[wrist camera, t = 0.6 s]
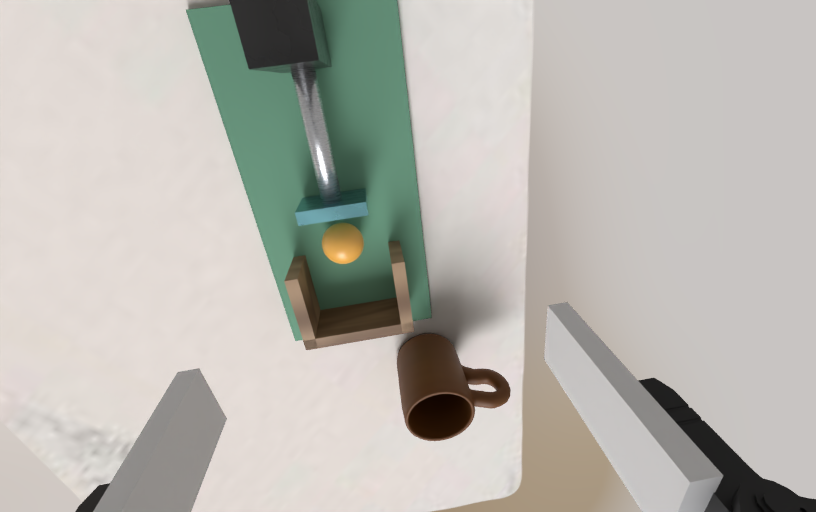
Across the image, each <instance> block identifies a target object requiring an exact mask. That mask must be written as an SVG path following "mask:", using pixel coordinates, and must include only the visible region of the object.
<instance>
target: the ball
mask: <svg viewBox="0 0 816 512" xmlns="http://www.w3.org/2000/svg"><path fill="white" fill-rule="evenodd" d="M363 247H364V240H363V236H362V234H361V232H360V231H359V230H358V229H357V228H356V227H355V226H353V225H352V224H349V223H337V224H334V225H332V226H330V227H329V228H328V229H327V230H326V231H325V233H324V235H323V238H322V248H323V251H324V253H325V255H326V256H327V257H328V258H329V259H330V260H331V261H333V262H335V263H338V264H347V263H351V262H353V261H355V260H356V259H357V258H358V257H359V256H360V255H361V253H362V251H363Z"/></svg>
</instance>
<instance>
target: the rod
mask: <svg viewBox="0 0 816 512" xmlns="http://www.w3.org/2000/svg"><path fill="white" fill-rule="evenodd" d="M229 1H230V5H231V8H232V12H233V15H234V19H235V23H236V26H237V30H238V33H239V37H240V40H241V44H242V47H243V51H244V54H245V58H246V61H247V65H248V68H249V69H250V70H259V71H267V72H276V73H289V72H291V74H292V78H293V83H294V87H295V91H296V95H297V100H298V104H299V108H300V112H301V116H302V121H303V125H304V129H305V133H306V138H307V142H308V146H309V150H310V154H311V159H312V163H313V167H314V171H315V176H316V180H317V184H318V188H319V192H320V195H316V196H309V197H303V198H302V199H301V201H300V203H299V205H298V207H297V209H296V211H295V215H296V219H297V223H298V226H302V225H308V224H315V223H321V222H328V221H334V220H341V219H347V218H354V217H361V216H367V215H368V199H367V194H366V188H363V189H356V190H350V191H343V192H341V190H340V186H339V181H338V176H337V171H336V167H335V162H334V157H333V152H332V147H331V143H330V138H329V133H328V128H327V124H326V119H325V114H324V109H323V104H322V100H321V95H320V90H319V85H318V80H317V76H316V71H315V69H320V68H328V67H332V65H331V60H330V54H329V49H328V44H327V39H326V33H325V28H324V23H323V18H322V12H321V8H320V6H319V5H318V3H317V1H316V0H229Z"/></svg>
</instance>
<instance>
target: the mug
mask: <svg viewBox="0 0 816 512" xmlns="http://www.w3.org/2000/svg"><path fill="white" fill-rule="evenodd" d="M397 369H398V377H399V387H400V395H401V403H402V410H403V414H404V418H405V423H406V426H407V428H408V429H409V431H410V432H411V433H412V434H413V435H414V436H416V437H418V438H420V439H423V440H428V441H440V440H445V439H449V438H452V437H454V436H456V435H458V434H460V433H461V432H463V431H464V430H465V429H466V428H467V427H468V426H469V425H470V424H471V422H472V420H473V418H474V414H475V407H474V406H477V407H484V408H496V407H499V406H501V405H503V404H505V403H506V402H507V401H508V399H509V397H510V387H509V384H508V382H507V381H506V379H505V378H504V377H503V376H502V375H500V374H499V373H497V372H495V371H493V370H489V369H472V368H468V367H465V366H462V365H461V364H460V361H459V358H458V355H457V353H456V350H455V348H454V346H453V345H452V343H451V342H450V341H449V340H448V339H446V338H444V337H442V336H440V335H436V334H422V335H418V336H416V337H413V338H412V339H410V340H408V341H407V342H406V343H405V344H404V345H403V346H402V348H401V349H400V351H399V353H398V357H397ZM468 384H472V385H479V384H488V385H491V386H492V387H494V388H495V389H496V391H495V392H484V391H476V390H471V389H469V386H468Z"/></svg>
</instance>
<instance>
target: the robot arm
mask: <svg viewBox="0 0 816 512" xmlns="http://www.w3.org/2000/svg"><path fill="white" fill-rule="evenodd" d="M544 360H545V361H546V363H547V364H548V366H549V367H550V369H551V371H552V372H553V374H554V375H555V377H556V378H557V380H558V382H559V383H560V384H561V386H562V388H563V389H564V391H565V392H566V394H567V396H568V397H569V399H570V400H571V402H572V403H573V405H574V407H575V408H576V410H577V411H578V412H579V414H580V416H581V417H582V419H583V421H584V422H585V423H586V425H587V427H588V428H589V430H590V431H591V433H592V434H593V436H594V438H595V439H596V441H597V442H598V444H599V445H600V447H601V449H602V450H603V452H604V453H605V455H606V456H607V458H608V459H609V461H610V463H611V464H612V466H613V467H614V469H615V470H616V472H617V473H618V475H619V477H620V478H621V480H622V481H623V483H624V484H625V486H626V488H627V489H628V491H629V492H630V494H631V495H632V497H633V499H634V500H635V502H636V503H637V505H638V506H639V508H640V509H641V511H642V512H816V499H809V498H804V497H800V496H798V495H797V494H795V493H794V492H793V491H791V490H790V489H788V488H786V487H784V486H782V485H780V484H778V483H776V482H774V481H770V480H766V479H763V478H761V477H760V476H759V475H758V474H757V473H755V472H754V471H753V470H752V469H751V468H750V467H749V466H748V465H747V464H746V463H745V462H744V461H743V460H742V459H741V458H740V457H739V456H738V455H737V454H736V453H735V452H734V451H733V450H732V449H731V448H730V447H729V446H728V445H727V444H726V443H725V442H724V441H723V440H722V439H721V438H720V436H718V435H717V433H715V431H714V430H713V429H712V428H711V427H710V426H709V425H708V424H707V423H706V422H705V421H702V420H701V417H700V416H699V415H698V414H697V413H696V412H695V411H694V410H693V409H692V408H689V407H688V404H687V403H686V402H685V401H684V400H683V399H682V398H681V397H680V396H679V395H678V394H677V393H676V392H675V391H674V390H673V389H671V388H670V387H668V386H666V385H665V384H663V383H662V382H660V381H659V380H657V379H655V378H650V379H645V380H639V381H638V380H637V379H636V378H635V377H634V376H633V375H632V374H631V372H630V371H629V370H628V369H627V368H626V367H625V366H624V365H623V364H622V362H621V361H620V360H619V359H618V358H617V357H616V356H615V355H614V353H613V352H612V351H611V350H610V349H609V348H608V347H607V346H606V345H605V343H604V342H603V341H602V340H601V339H600V338H599V337H598V336H597V335H596V334H595V333H594V331H593V330H592V329H591V328H590V327H589V326H588V325H587V324H586V323H585V321H584V320H583V319H582V318H581V317H580V316H579V315H578V313H577V312H576V311H575V310H574V309H573V308H572V307H571V306H570V305H569V304H568V303H567V302H565V303H560V304H554V305H549V306H548V310H547V326H546V340H545V354H544ZM226 419H227V418H226V416H225V415H224V413H223V411H222V409H221V407H220V406H219V404H218V402H217V400H216V398H215V396H214V395H213V393H212V391H211V389H210V387H209V386H208V384H207V382H206V380H205V378H204V377H203V375H202V373H201V371H200V369H193V370H188V371H182V372H178V373H177V374H176V376H175V378H174V379H173V381H172V382H171V384H170V386H169V387H168V389H167V391H166V392H165V394H164V396H163V397H162V399H161V401H160V402H159V404H158V406H157V407H156V409H155V410H154V412H153V414H152V415H151V417H150V419H149V420H148V422H147V424H146V425H145V427H144V429H143V430H142V432H141V434H140V435H139V437H138V439H137V440H136V442H135V443H134V445H133V447H132V448H131V450H130V452H129V453H128V455H127V457H126V458H125V460H124V462H123V463H122V465H121V467H120V468H119V470H118V471H117V473H116V475H115V476H114V478H113V480H112V481H111V483H109V484H104V485H99V486H98V487H97V488H96V489H95V490H94V491H93V492H92V493H91V494H90V495H89V496H88V497H87V498H86V499H85V500H84V502H83V503H82V504H81V505H80V506H79V507H78V509H77V510H76V512H191V510H192V508H193V505H194V502H195V500H196V497H197V495H198V492H199V489H200V487H201V484H202V481H203V479H204V476H205V474H206V471H207V468H208V466H209V463H210V461H211V458H212V455H213V453H214V450H215V448H216V445H217V442H218V440H219V437H220V435H221V432H222V429H223V427H224V424H225V422H226Z"/></svg>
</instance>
